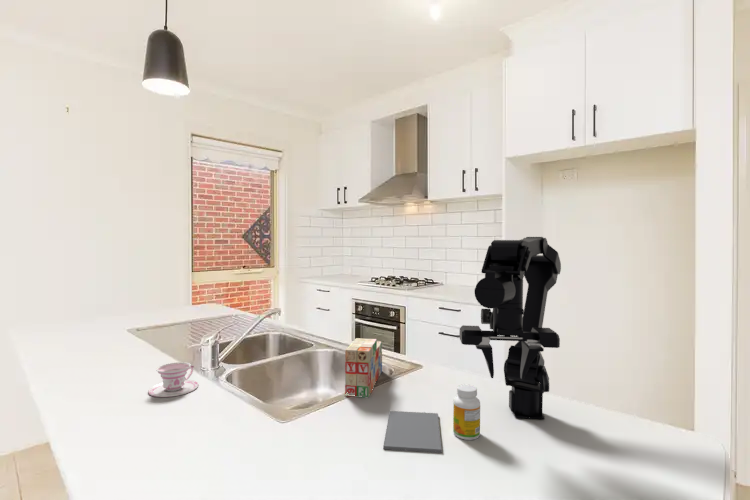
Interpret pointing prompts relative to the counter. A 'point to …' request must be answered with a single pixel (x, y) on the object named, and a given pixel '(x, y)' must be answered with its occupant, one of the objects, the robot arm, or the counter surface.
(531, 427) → the counter surface
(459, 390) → the supplement bottle
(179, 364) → the teacup
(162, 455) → the counter surface
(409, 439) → the charcoal mat
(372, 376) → the stack of blocks
